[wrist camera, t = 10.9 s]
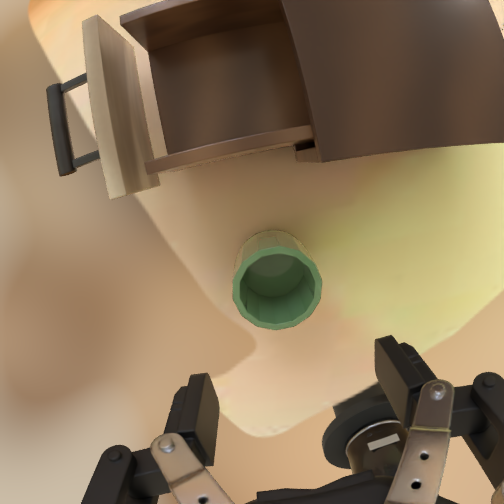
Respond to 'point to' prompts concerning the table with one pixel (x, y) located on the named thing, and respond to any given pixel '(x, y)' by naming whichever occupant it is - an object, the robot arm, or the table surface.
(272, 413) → the table surface
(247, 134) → the drawer
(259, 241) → the pot
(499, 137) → the cabinet
